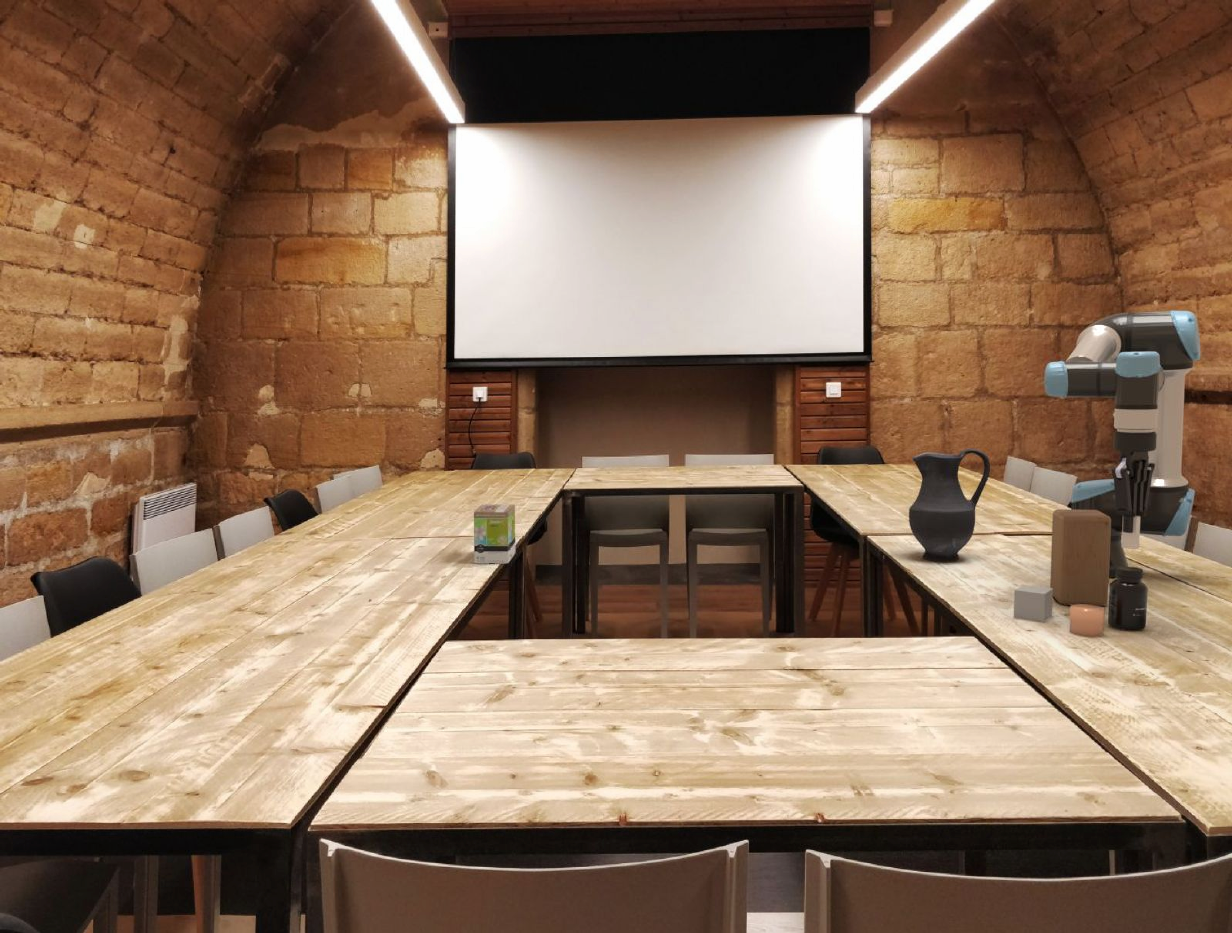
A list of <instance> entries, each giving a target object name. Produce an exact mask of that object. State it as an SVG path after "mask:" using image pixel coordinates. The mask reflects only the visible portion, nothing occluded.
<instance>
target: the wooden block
mask: <svg viewBox="0 0 1232 933" xmlns="http://www.w3.org/2000/svg"><path fill="white" fill-rule="evenodd" d="M1051 524H1052V528H1051V552H1050V553H1051V554H1050V556H1051V557H1050V558H1051V560H1050V580H1049V581H1050V584H1049V585H1050V586H1049V588H1053V598H1054V599H1055V600H1056V602H1058V603H1059V604H1061V605H1063V606H1071V605H1076V604H1086V605H1094V606H1099V607H1104V606H1107V604H1109V588H1110V583H1109V582H1110V581H1109V580H1110V577H1109V562H1110V537H1111V519H1110V517H1109V516H1107V515H1105V514H1103V513H1101V512H1100V511H1097V510H1071V509H1066V508H1065V509H1058V508H1057V509H1055V510H1054V511H1053V512H1052V521H1051Z"/></svg>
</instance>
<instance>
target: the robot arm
mask: <svg viewBox="0 0 1232 933" xmlns="http://www.w3.org/2000/svg"><path fill="white" fill-rule="evenodd" d="M1200 338H1201V337H1200V330H1199V324H1198V320H1197V316H1196V315H1195V313H1193V312H1192V311H1188V310H1160V311H1158V310H1157V311H1141V312H1139V311H1138V312H1121V313H1115V314H1112V315H1109V316H1106V317H1103V318H1101V319H1099V320H1097V321H1095V322H1093V323H1091V324H1090V325H1088V326H1086V327H1085V328H1084V329H1083V330H1082V331H1081V332H1080V334H1079V335H1078V337H1077V340H1076V344H1075V346H1076V347H1075V348H1074V350H1073V351H1072V352H1071V354H1070V355H1069V356H1068V358H1067V359H1066V360H1065V361H1064V360H1059V361H1051V362H1048V363H1047V365H1046V366H1045V370H1044V379H1043V380H1044V392H1045V393H1046V395H1047V396H1049V397H1054V398H1056V397H1057V398H1063V399H1064V398H1065V399H1066V398H1114V412H1113V413H1112V417H1113V418H1114V421H1113V423H1114V424H1113V427H1114V429H1117V430H1115V431H1114V432H1113V435H1112V436H1113V438H1112V439H1113V441H1112V448H1113V450H1115V451H1119V453H1120V455H1119V458H1118V466H1117V467H1114V466H1113V467H1112V468H1111V475H1112V478H1110V479H1109V478H1107V479H1096V480H1094V479H1093V480H1087V481H1081V482H1078V483H1076V484H1075V485H1074V486H1073V487H1072V491H1071V499H1070V504H1071V507H1070V510H1097V511H1100V512H1101V513H1103V514H1105V515H1107V516H1109V517H1110V519H1111V537H1110V562H1109V578H1117V577H1116V576H1115V574H1116V567H1120V566H1129V563H1128V559H1127V556H1126V554H1125V550H1124V549H1129V550H1133V551H1134V550H1136V551H1137V550H1139V549H1140V536H1141V535H1150V536H1151V535H1152V536H1162V537H1163V538H1164V537H1181V536H1184V535H1185V534H1186V533H1187V531H1188V527H1189V524H1190V519H1191V515H1192V510H1193V506H1194V501H1195V500H1194V499H1195V494H1196V493H1195V492H1196V491H1195V490H1194V489H1192V488H1189V481H1188V479H1187V478H1186V477H1184V476H1183V475H1182V464H1183V463H1182V462H1183V458H1182V457H1183V440H1184V439H1183V435H1184V434H1183V433H1184V414H1185V413H1184V409H1185V408H1184V407H1185V406H1184V405H1185V387H1186V386H1185V385H1186V384H1185V382H1186V381H1185V380H1186V375H1188V373H1190V372H1191V371H1192V370H1193V368H1194V362H1197V361H1200V360H1201V356H1202V355H1201V340H1200Z"/></svg>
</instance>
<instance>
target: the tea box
mask: <svg viewBox="0 0 1232 933" xmlns="http://www.w3.org/2000/svg"><path fill="white" fill-rule="evenodd" d="M473 550H474V551H473V557H474V558H473V559H474V560H473V563H474V564H475V565H476V564H477V565H479V564H480V565H482V564H483V565H486V564H487V565H490V564H489V563H495V564H496V565H498V564H499V565H500V564H501V565H502V564H509V563H510V561H511V560H512V559H513V557H514V556H515V554H516V505H515V504H481V505H480V506H479V507H478V508H476V509H475V510H474V511H473ZM495 564H494V565H495Z"/></svg>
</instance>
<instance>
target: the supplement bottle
mask: <svg viewBox="0 0 1232 933" xmlns="http://www.w3.org/2000/svg"><path fill="white" fill-rule="evenodd" d="M1115 576H1116V577H1115V578H1116V579H1113V580H1112V581H1110V583H1109V587H1108V610H1107V611H1108V612H1107V624H1108V626H1109V627H1111V628H1114V629H1116V630H1121V631H1129V632H1140V631H1143V630H1144V629H1146V626H1147V616H1148V615H1147V614H1148V613H1147V612H1148V596H1149V595H1148V594H1149V593H1148V592H1149V587H1148V585H1147V584H1146V583H1145V582H1143V581H1142V580H1143V579H1144V569H1142V568H1140V567H1136V566H1130V565H1128V566H1120V567H1116V574H1115Z"/></svg>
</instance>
